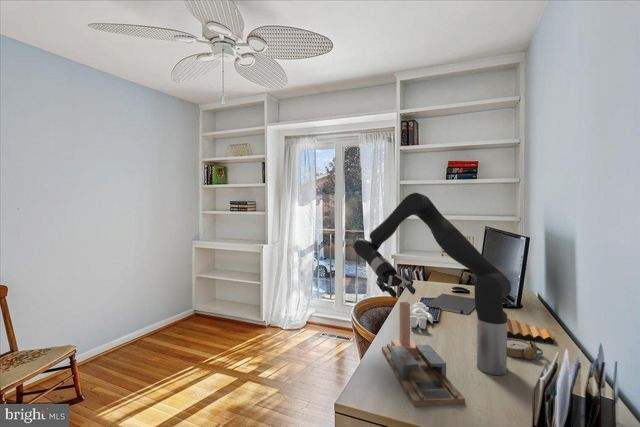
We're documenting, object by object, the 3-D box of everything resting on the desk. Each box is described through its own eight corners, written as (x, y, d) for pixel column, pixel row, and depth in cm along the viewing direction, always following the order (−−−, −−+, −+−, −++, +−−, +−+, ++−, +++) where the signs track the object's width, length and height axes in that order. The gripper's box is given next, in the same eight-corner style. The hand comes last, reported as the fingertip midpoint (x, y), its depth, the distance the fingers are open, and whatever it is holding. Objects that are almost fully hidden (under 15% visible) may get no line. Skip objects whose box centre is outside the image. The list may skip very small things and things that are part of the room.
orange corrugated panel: (485, 317, 168) (486, 335, 146) (485, 311, 168) (486, 327, 146) (543, 325, 158) (554, 345, 135) (543, 318, 158) (554, 337, 135)
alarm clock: (501, 336, 136) (544, 340, 126) (503, 348, 136) (546, 353, 126) (493, 345, 128) (538, 349, 118) (495, 358, 128) (541, 363, 118)
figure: (432, 335, 149) (433, 314, 172) (432, 319, 148) (433, 299, 172) (403, 332, 153) (407, 311, 177) (403, 315, 152) (407, 297, 176)
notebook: (442, 296, 207) (426, 308, 185) (442, 293, 207) (426, 303, 185) (479, 303, 194) (467, 315, 172) (479, 299, 194) (467, 311, 172)
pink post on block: (391, 347, 129) (391, 300, 129) (411, 346, 130) (411, 300, 129) (397, 356, 121) (397, 306, 121) (418, 355, 122) (418, 306, 121)
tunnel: (390, 359, 119) (390, 346, 119) (428, 358, 120) (428, 344, 120) (403, 380, 105) (403, 364, 105) (446, 378, 106) (446, 363, 106)
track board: (381, 350, 130) (381, 344, 130) (419, 349, 131) (419, 343, 131) (413, 406, 94) (413, 397, 94) (464, 403, 95) (465, 395, 95)
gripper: (370, 263, 135) (391, 289, 121) (399, 259, 140) (422, 283, 127) (366, 278, 138) (387, 305, 125) (395, 273, 143) (417, 299, 130)
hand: (405, 294), depth 126 cm, fingers open, 8 cm apart
